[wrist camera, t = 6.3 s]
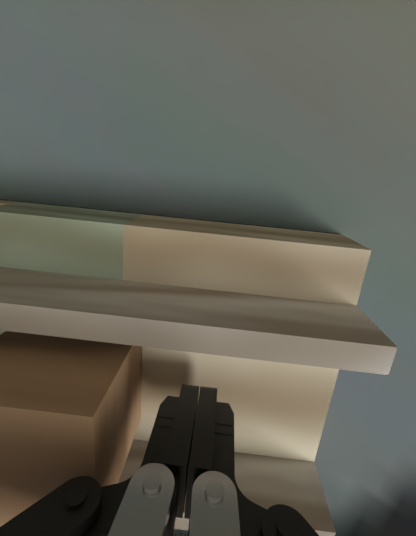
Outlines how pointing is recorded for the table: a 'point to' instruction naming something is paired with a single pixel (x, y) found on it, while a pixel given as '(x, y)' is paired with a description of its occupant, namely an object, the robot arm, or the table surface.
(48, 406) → the walnut block
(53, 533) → the robot arm
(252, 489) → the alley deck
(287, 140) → the table surface
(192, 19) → the table surface
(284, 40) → the table surface
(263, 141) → the table surface
